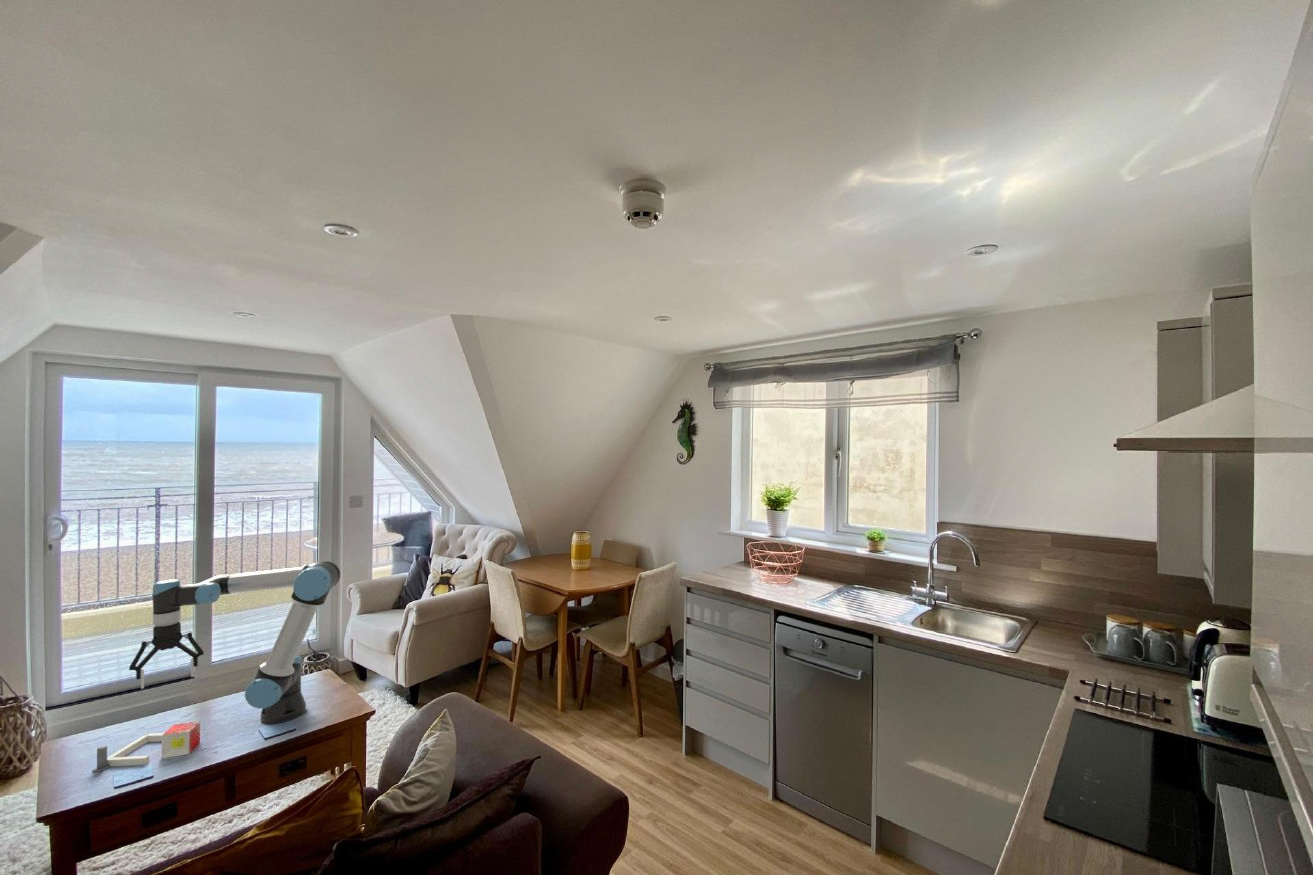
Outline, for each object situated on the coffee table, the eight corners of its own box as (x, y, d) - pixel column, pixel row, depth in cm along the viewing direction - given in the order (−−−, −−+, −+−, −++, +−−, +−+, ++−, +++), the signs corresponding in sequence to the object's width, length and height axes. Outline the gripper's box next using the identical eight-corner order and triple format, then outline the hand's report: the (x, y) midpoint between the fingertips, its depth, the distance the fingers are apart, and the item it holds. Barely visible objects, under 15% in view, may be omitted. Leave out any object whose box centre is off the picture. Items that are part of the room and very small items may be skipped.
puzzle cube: (161, 758, 189) (161, 735, 189) (173, 746, 197) (173, 724, 197) (189, 753, 192) (189, 731, 192) (200, 742, 199) (200, 720, 200)
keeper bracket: (184, 737, 202) (184, 718, 203) (137, 769, 183) (138, 748, 183) (143, 739, 201) (144, 720, 202) (92, 771, 181) (92, 750, 182)
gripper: (210, 613, 211) (211, 668, 211) (120, 629, 194) (121, 689, 194) (211, 617, 205) (212, 673, 205) (118, 634, 189) (119, 695, 188)
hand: (168, 681), depth 199 cm, fingers open, 13 cm apart
